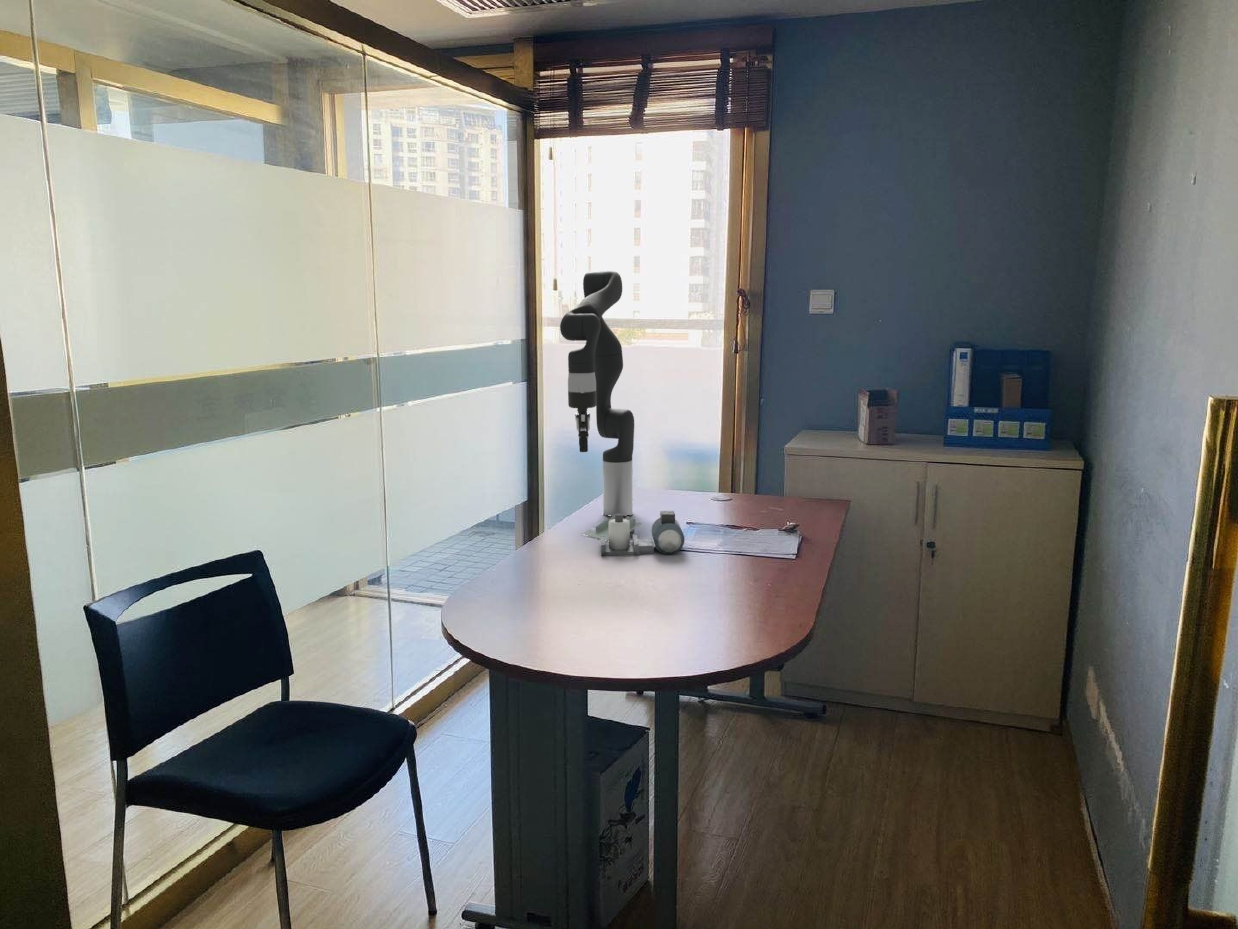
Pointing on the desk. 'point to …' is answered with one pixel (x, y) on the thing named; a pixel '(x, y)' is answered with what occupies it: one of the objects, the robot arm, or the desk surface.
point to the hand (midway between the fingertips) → (583, 449)
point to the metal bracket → (604, 528)
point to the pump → (619, 533)
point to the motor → (664, 536)
